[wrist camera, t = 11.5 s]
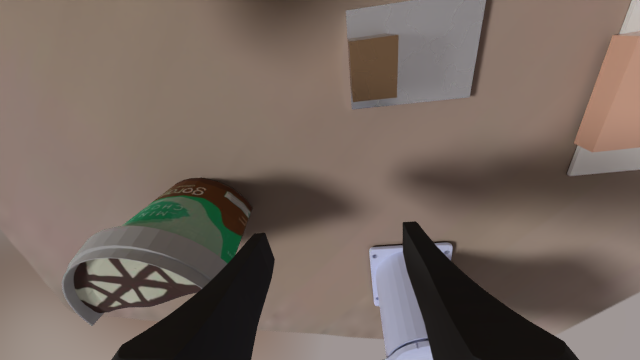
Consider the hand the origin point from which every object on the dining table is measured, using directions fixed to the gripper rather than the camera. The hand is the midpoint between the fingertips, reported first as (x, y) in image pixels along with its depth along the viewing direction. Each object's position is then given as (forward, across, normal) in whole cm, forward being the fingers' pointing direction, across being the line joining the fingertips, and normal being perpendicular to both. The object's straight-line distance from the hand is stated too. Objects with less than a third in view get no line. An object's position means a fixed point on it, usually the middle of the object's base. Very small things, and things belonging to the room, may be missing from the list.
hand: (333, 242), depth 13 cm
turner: (+10, -6, -7) cm, 13 cm away
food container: (+10, +14, +2) cm, 17 cm away
